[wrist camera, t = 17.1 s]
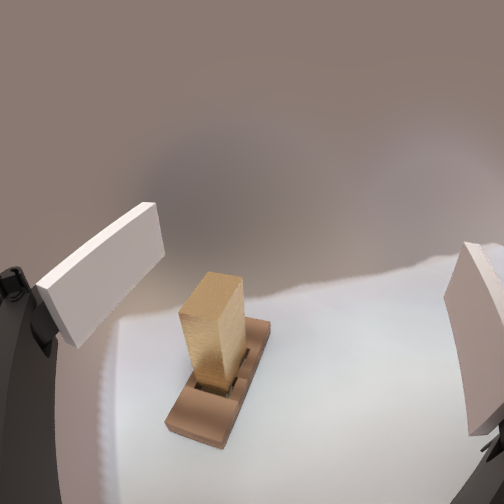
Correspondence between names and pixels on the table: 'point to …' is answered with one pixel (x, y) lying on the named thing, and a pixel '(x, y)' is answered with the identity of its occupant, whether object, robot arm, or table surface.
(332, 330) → the table surface
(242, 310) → the tall wooden block
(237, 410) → the slotted wooden base
